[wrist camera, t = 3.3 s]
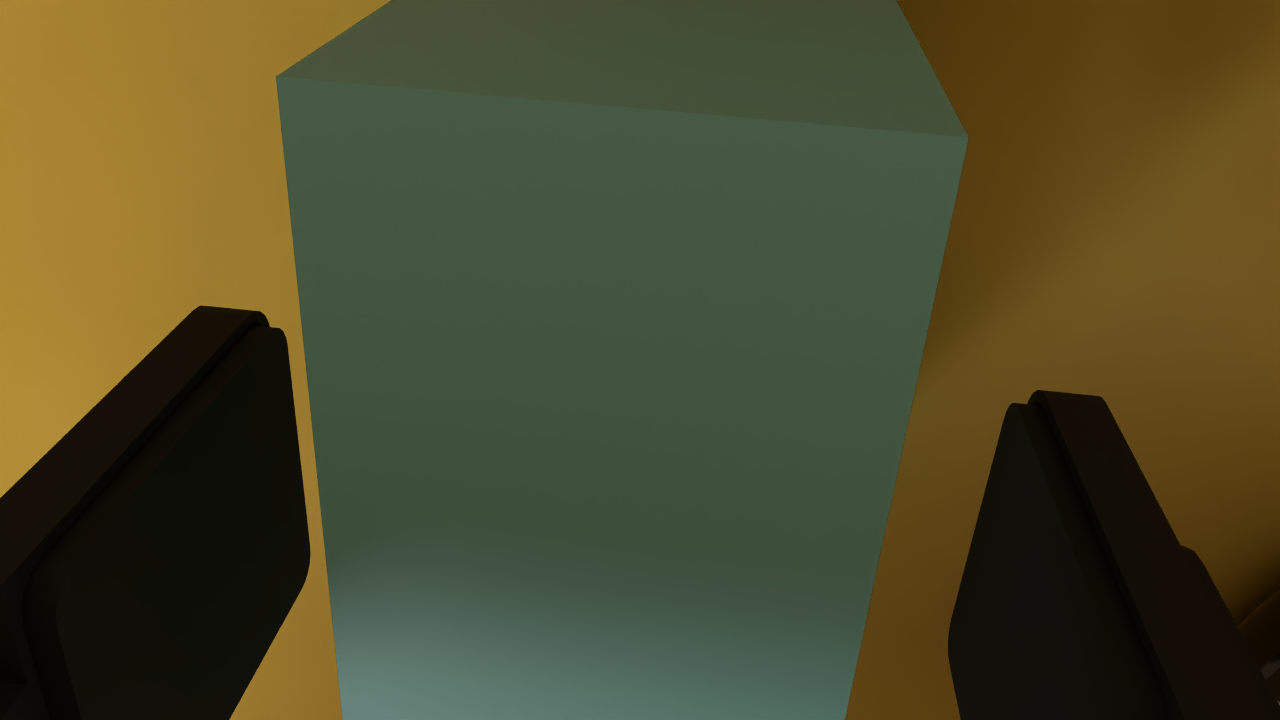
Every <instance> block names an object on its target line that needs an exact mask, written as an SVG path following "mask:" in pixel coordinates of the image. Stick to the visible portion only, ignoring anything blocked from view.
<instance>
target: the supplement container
mask: <svg viewBox="0 0 1280 720" xmlns="http://www.w3.org/2000/svg"><path fill="white" fill-rule="evenodd" d="M1237 627H1238V629H1239V631H1240V633H1241V635H1242V637H1243V638H1244V640H1245V642H1246V644H1247V646H1248V648H1249V650H1250V651H1251V653H1252V655H1253V657H1254V659H1255V661H1256V663H1257V664H1258V666H1259V668H1260V670H1261V672H1262V674H1263V676H1264V677H1265V679H1266V681H1267V683H1268V685H1269V687H1270V689H1271V690H1272V692H1273V694H1274V696H1275V698H1276V700H1277V702H1278V703H1279V705H1280V589H1279V590H1278V591H1276V592H1275V593H1274V594H1272V595H1271V596H1270V597H1268V598H1267V599H1266V600H1265V601H1264V602H1263V603H1262V604H1260V605H1259V606H1258V607H1257V608H1256V609H1255V610H1254V611H1253V612H1251V613H1250V614H1249V615H1248V616H1247V617H1246V618H1245V619H1244V620H1243V621H1242V622H1241V623H1240V624H1239V625H1238V626H1237Z"/></svg>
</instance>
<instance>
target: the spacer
mask: <svg viewBox="0 0 1280 720" xmlns="http://www.w3.org/2000/svg"><path fill="white" fill-rule="evenodd" d="M276 81H277V91H278V101H279V110H280V120H281V130H282V139H283V149H284V159H285V168H286V178H287V188H288V197H289V207H290V217H291V226H292V236H293V246H294V255H295V265H296V275H297V284H298V294H299V304H300V313H301V323H302V333H303V342H304V352H305V362H306V371H307V381H308V391H309V400H310V410H311V420H312V429H313V439H314V449H315V458H316V468H317V478H318V487H319V497H320V507H321V516H322V526H323V536H324V545H325V555H326V565H327V574H328V584H329V594H330V603H331V613H332V623H333V632H334V642H335V652H336V661H337V671H338V681H339V690H340V700H341V710H342V719H343V720H845V717H846V712H847V707H848V703H849V698H850V693H851V689H852V684H853V679H854V675H855V670H856V665H857V660H858V656H859V651H860V646H861V642H862V637H863V632H864V628H865V623H866V618H867V614H868V609H869V604H870V599H871V595H872V590H873V585H874V581H875V576H876V571H877V567H878V562H879V557H880V552H881V548H882V543H883V538H884V534H885V529H886V524H887V520H888V515H889V510H890V506H891V501H892V496H893V491H894V487H895V482H896V477H897V473H898V468H899V463H900V459H901V454H902V449H903V444H904V440H905V435H906V430H907V426H908V421H909V416H910V412H911V407H912V402H913V398H914V393H915V388H916V383H917V379H918V374H919V369H920V365H921V360H922V355H923V351H924V346H925V341H926V337H927V332H928V327H929V322H930V318H931V313H932V308H933V304H934V299H935V294H936V290H937V285H938V280H939V275H940V271H941V266H942V261H943V257H944V252H945V247H946V243H947V238H948V233H949V229H950V224H951V219H952V214H953V210H954V205H955V200H956V196H957V191H958V186H959V182H960V177H961V172H962V167H963V163H964V158H965V153H966V149H967V144H968V139H969V137H968V135H967V133H966V131H965V129H964V127H963V125H962V124H961V122H960V120H959V118H958V116H957V114H956V112H955V110H954V108H953V107H952V105H951V103H950V101H949V99H948V97H947V95H946V93H945V91H944V89H943V88H942V86H941V84H940V82H939V80H938V78H937V76H936V74H935V72H934V70H933V69H932V67H931V65H930V63H929V61H928V59H927V57H926V55H925V53H924V52H923V50H922V48H921V46H920V44H919V42H918V40H917V38H916V36H915V34H914V33H913V31H912V29H911V27H910V25H909V23H908V21H907V19H906V17H905V16H904V14H903V12H902V10H901V8H900V6H899V4H898V2H897V0H391V1H390V2H388V3H387V4H385V5H384V6H382V7H381V8H379V9H378V10H376V11H375V12H373V13H372V14H370V15H369V16H367V17H366V18H364V19H362V20H361V21H359V22H358V23H356V24H355V25H353V26H352V27H350V28H349V29H347V30H346V31H344V32H343V33H341V34H340V35H338V36H337V37H335V38H334V39H332V40H331V41H329V42H328V43H326V44H325V45H323V46H322V47H320V48H319V49H317V50H316V51H314V52H313V53H311V54H309V55H308V56H306V57H305V58H303V59H302V60H300V61H299V62H297V63H296V64H294V65H293V66H291V67H290V68H288V69H287V70H285V71H284V72H282V73H281V74H279V75H278V76H276Z"/></svg>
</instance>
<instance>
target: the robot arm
mask: <svg viewBox="0 0 1280 720" xmlns="http://www.w3.org/2000/svg"><path fill="white" fill-rule="evenodd" d="M309 564H310V541H309V532H308V523H307V515H306V506H305V497H304V488H303V479H302V470H301V461H300V452H299V443H298V434H297V425H296V416H295V408H294V399H293V390H292V381H291V372H290V363H289V354H288V345H287V340H286V336H285V334H284V332H283V331H282V330H281V329H280V328H272V327H270V325H269V322H268V320H267V318H266V316H265V315H264V314H263V313H262V312H260V311H251V310H241V309H231V308H221V307H212V306H199V307H198V308H196V309H194V310H193V311H192V312H191V313H190V314H189V315H188V316H187V317H186V318H185V319H184V320H183V321H182V322H181V323H180V324H179V325H178V326H177V327H176V328H175V329H174V330H173V331H171V332H170V333H169V334H168V335H167V336H166V337H165V338H164V339H163V340H162V341H161V342H160V343H159V344H158V345H157V346H156V347H155V348H154V349H153V350H152V351H151V352H150V353H149V354H148V355H147V356H146V357H145V358H144V359H143V360H142V361H141V362H140V363H139V364H138V365H137V366H136V367H135V368H134V369H132V370H131V371H130V372H129V373H128V374H127V375H126V376H125V377H124V378H123V379H122V380H121V381H120V382H119V383H118V384H117V385H116V386H115V387H114V388H113V389H112V390H111V391H110V392H109V393H108V394H107V395H106V396H105V397H104V398H103V399H102V400H101V401H100V402H99V403H98V404H97V405H96V406H95V407H93V408H92V409H91V410H90V411H89V412H88V413H87V414H86V415H85V416H84V417H83V418H82V419H81V420H80V421H79V422H78V423H77V424H76V425H75V426H74V427H73V428H72V429H71V430H70V431H69V432H68V433H67V434H66V435H65V436H64V437H63V438H62V439H61V440H60V441H59V442H58V443H57V444H56V445H54V446H53V447H52V448H51V449H50V450H49V451H48V452H47V453H46V454H45V455H44V456H43V457H42V458H41V459H40V460H39V461H38V462H37V463H36V464H35V465H34V466H33V467H32V468H31V469H30V470H29V471H28V472H27V473H26V474H25V475H24V476H23V477H22V478H21V479H20V480H19V481H18V482H16V483H15V484H14V485H13V486H12V487H11V488H10V489H9V490H8V491H7V492H6V493H5V494H4V495H3V496H2V497H1V498H0V720H229V719H230V717H231V715H232V714H233V712H234V710H235V708H236V706H237V705H238V703H239V701H240V699H241V697H242V696H243V694H244V692H245V690H246V688H247V687H248V685H249V683H250V681H251V679H252V678H253V676H254V674H255V672H256V670H257V669H258V667H259V665H260V663H261V661H262V660H263V658H264V656H265V654H266V652H267V651H268V649H269V647H270V645H271V643H272V642H273V640H274V638H275V636H276V634H277V633H278V631H279V629H280V627H281V625H282V624H283V622H284V620H285V618H286V616H287V615H288V613H289V611H290V609H291V607H292V606H293V604H294V602H295V600H296V598H297V597H298V595H299V593H300V591H301V589H302V587H303V585H304V583H305V580H306V577H307V574H308V569H309ZM948 656H949V663H950V669H951V674H952V678H953V683H954V688H955V693H956V698H957V703H958V708H959V713H960V718H961V720H1280V705H1279V703H1278V702H1277V700H1276V698H1275V696H1274V694H1273V692H1272V690H1271V689H1270V687H1269V685H1268V683H1267V681H1266V679H1265V677H1264V676H1263V674H1262V672H1261V670H1260V668H1259V666H1258V664H1257V663H1256V661H1255V659H1254V657H1253V655H1252V653H1251V651H1250V650H1249V648H1248V646H1247V644H1246V642H1245V640H1244V638H1243V637H1242V635H1241V633H1240V631H1239V629H1238V627H1237V625H1236V624H1235V622H1234V620H1233V618H1232V616H1231V614H1230V612H1229V611H1228V609H1227V607H1226V605H1225V603H1224V601H1223V599H1222V598H1221V596H1220V594H1219V592H1218V590H1217V588H1216V586H1215V585H1214V583H1213V581H1212V579H1211V577H1210V575H1209V573H1208V572H1207V570H1206V568H1205V566H1204V564H1203V562H1202V561H1201V560H1200V558H1199V557H1198V556H1197V554H1196V553H1195V552H1194V551H1193V550H1191V549H1189V548H1187V547H1185V546H1180V544H1179V542H1178V540H1177V538H1176V536H1175V534H1174V532H1173V530H1172V528H1171V526H1170V525H1169V523H1168V521H1167V519H1166V517H1165V515H1164V513H1163V511H1162V509H1161V507H1160V505H1159V503H1158V502H1157V500H1156V498H1155V496H1154V494H1153V492H1152V490H1151V488H1150V486H1149V484H1148V482H1147V480H1146V479H1145V477H1144V475H1143V473H1142V471H1141V469H1140V467H1139V465H1138V463H1137V461H1136V459H1135V457H1134V456H1133V454H1132V452H1131V450H1130V448H1129V446H1128V444H1127V442H1126V440H1125V438H1124V436H1123V434H1122V432H1121V431H1120V429H1119V427H1118V425H1117V423H1116V421H1115V419H1114V417H1113V415H1112V413H1111V411H1110V409H1109V408H1108V406H1107V404H1106V402H1105V401H1104V400H1103V398H1102V397H1099V396H1092V395H1082V394H1072V393H1062V392H1052V391H1043V390H1037V391H1035V392H1034V393H1033V394H1032V395H1031V397H1030V399H1029V401H1028V403H1027V404H1018V403H1012V404H1011V405H1010V406H1009V408H1008V410H1007V411H1006V414H1005V417H1004V421H1003V425H1002V428H1001V432H1000V436H999V440H998V444H997V447H996V451H995V455H994V459H993V463H992V466H991V470H990V474H989V478H988V482H987V485H986V489H985V493H984V497H983V500H982V504H981V508H980V512H979V516H978V519H977V523H976V527H975V531H974V535H973V538H972V542H971V546H970V550H969V554H968V557H967V561H966V565H965V569H964V573H963V576H962V580H961V584H960V588H959V592H958V595H957V599H956V603H955V607H954V610H953V614H952V618H951V623H950V627H949V636H948Z"/></svg>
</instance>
